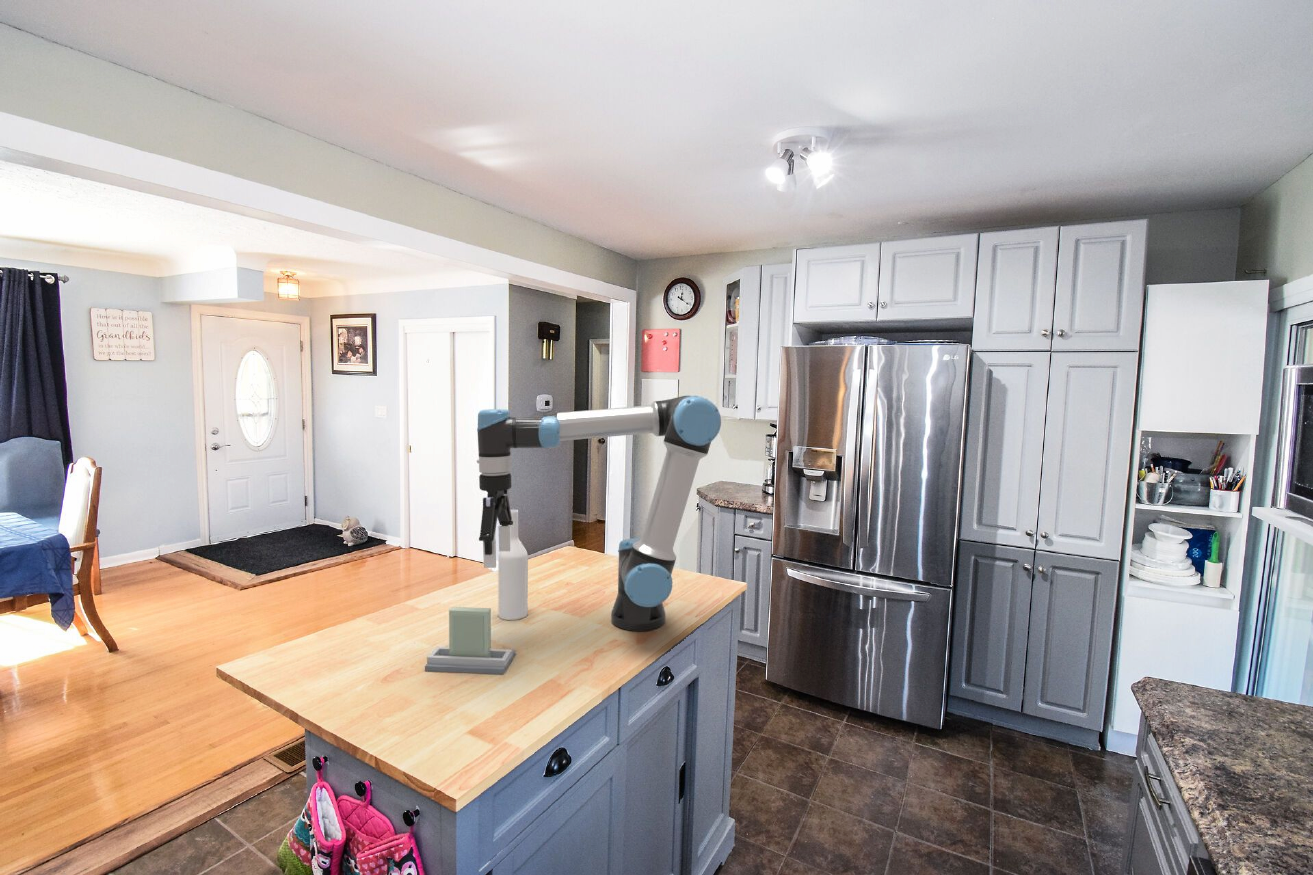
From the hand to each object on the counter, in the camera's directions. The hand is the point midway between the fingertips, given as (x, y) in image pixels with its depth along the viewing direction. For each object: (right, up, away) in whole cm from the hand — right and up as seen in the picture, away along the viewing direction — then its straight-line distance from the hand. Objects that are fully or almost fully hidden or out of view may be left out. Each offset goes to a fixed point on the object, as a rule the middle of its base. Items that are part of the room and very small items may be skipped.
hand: (497, 558), depth 147 cm
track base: (-4, -23, -7) cm, 24 cm away
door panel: (-4, -22, -7) cm, 23 cm away
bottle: (-2, -21, +23) cm, 31 cm away
